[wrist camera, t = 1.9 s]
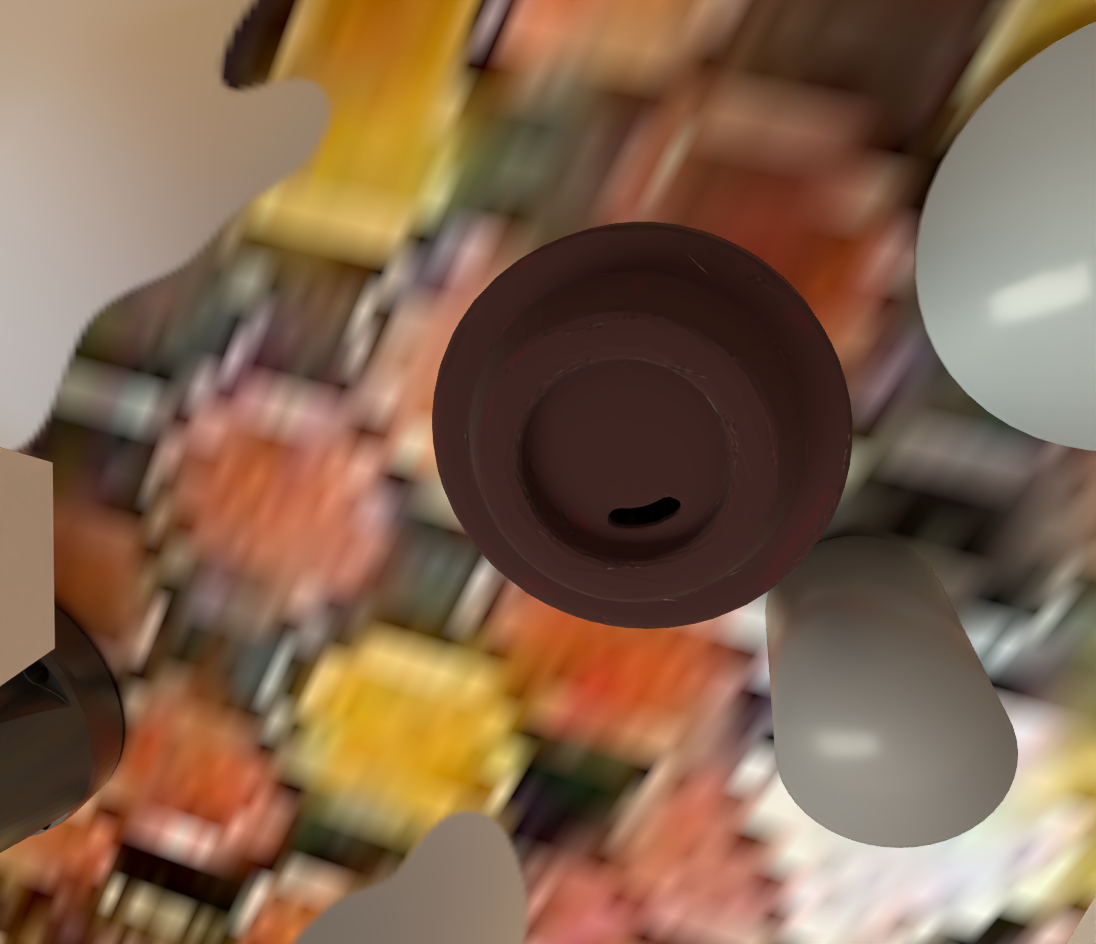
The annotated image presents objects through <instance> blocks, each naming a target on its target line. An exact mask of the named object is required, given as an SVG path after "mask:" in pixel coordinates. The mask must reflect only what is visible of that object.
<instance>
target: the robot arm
mask: <svg viewBox="0 0 1096 944" xmlns="http://www.w3.org/2000/svg"><path fill="white" fill-rule="evenodd" d="M122 741H123V723H122V714H121V709H120V704H119V700H118V697H117V694H116V690H115V688H114V685H113V683H112V680H111V678H110V676H109V674H108V671H107V669H106V668H105V666H104V664H103V662H102V660H101V659H100V657H99V655H98V654H97V652H96V651H95V649H94V648H93V646H92V645H91V644H90V642H89V641H88V640H87V638H86V637H85V636H84V634H83V633H82V632H81V631H80V630H79V629H78V628H77V626H76V625H75V624H74V623H73V622H72V621H71V620H70V619H69V618H68V617H67V616H66V615H65V614H64V613H63V612H62V611H60V610H59V609H58V608H57V607H56V606H55V605H54V534H53V463H52V462H49V461H45V460H42V459H38V458H35V457H32V456H28V455H25V454H21V453H18V452H15V451H11V450H8V449H4V448H1V447H0V852H2V851H4V850H6V849H8V848H10V847H11V846H13V845H15V844H17V843H19V842H20V841H22V840H24V839H26V838H27V837H29V836H33V835H37V834H40V833H42V832H44V831H47V830H49V829H51V828H53V827H55V826H57V825H59V824H61V823H62V822H64V821H65V820H66V819H68V818H69V817H71V816H72V815H73V814H74V813H76V812H77V811H78V810H79V809H80V808H81V807H82V806H83V805H84V804H85V803H86V802H87V801H88V800H89V799H90V798H91V797H92V796H93V795H94V794H95V793H97V792H98V791H99V790H100V789H101V788H102V787H103V786H104V785H105V783H106V782H107V781H108V780H109V778H110V777H111V775H112V773H113V772H114V770H115V768H116V766H117V763H118V760H119V757H120V753H121V748H122ZM1067 944H1096V896H1095V898H1094V900H1093V901H1092V903H1091V905H1090V906H1089V908H1088V910H1087V911H1086V913H1085V915H1084V916H1083V918H1082V920H1081V921H1080V923H1079V925H1078V926H1077V928H1076V930H1075V931H1074V933H1073V935H1072V936H1071V938H1070V940H1069V941H1068V943H1067Z"/></svg>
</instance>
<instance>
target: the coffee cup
mask: <svg viewBox="0 0 1096 944" xmlns="http://www.w3.org/2000/svg"><path fill="white" fill-rule="evenodd" d="M432 431H433V444H434V450H435V456H436V462H437V468H438V472H439V475H440V478H441V482H442V485H443V488H444V490H445V493H446V495H447V497H448V500H449V502H450V504H451V506H452V509H453V511H454V513H455V515H456V517H457V518H458V520H459V522H460V523H461V525H462V527H463V528H464V530H465V532H466V533H467V535H468V536H469V537H470V539H471V540H472V542H473V543H474V544H475V546H476V547H477V548H478V549H479V550H480V551H481V553H482V554H483V555H484V556H485V557H486V558H487V559H488V561H489V562H490V563H491V564H492V565H493V566H494V567H495V568H496V569H497V570H498V571H499V572H501V573H502V574H503V575H504V576H506V577H507V578H508V579H510V580H511V581H512V582H513V583H515V584H516V585H517V586H519V587H520V588H521V589H523V590H524V591H525V592H526V593H528V594H530V595H531V596H533V597H535V598H537V599H538V600H540V601H542V602H544V603H546V604H547V605H550V606H552V607H554V608H556V609H558V610H560V611H563V612H565V613H568V614H570V615H573V616H576V617H579V618H582V619H585V620H588V621H592V622H596V623H601V624H605V625H610V626H618V627H625V628H643V629H649V628H670V627H677V626H683V625H689V624H695V623H699V622H703V621H706V620H710V619H714V618H716V617H719V616H721V615H723V614H726V613H728V612H731V611H733V610H735V609H738V608H740V607H742V606H744V605H747V604H748V603H750V602H752V601H753V600H755V599H756V598H758V597H760V596H761V595H763V594H764V593H766V592H767V591H769V590H770V589H772V588H773V587H774V586H776V585H777V584H778V583H780V582H781V581H782V580H783V579H784V578H785V577H786V576H788V575H789V574H790V573H791V572H792V571H793V570H794V569H795V568H796V567H797V566H798V565H799V564H800V563H801V562H803V560H804V559H805V558H806V556H807V555H808V554H809V553H810V551H811V550H812V549H813V547H814V546H815V545H816V543H817V542H818V540H819V539H820V537H821V536H822V534H823V533H824V531H825V529H826V528H827V526H828V525H829V523H830V521H831V519H832V517H833V515H834V512H835V510H836V508H837V506H838V503H839V501H840V498H841V495H842V492H843V490H844V487H845V483H846V479H847V475H848V470H849V466H850V458H851V450H852V413H851V404H850V398H849V393H848V389H847V385H846V380H845V377H844V374H843V371H842V368H841V365H840V362H839V359H838V357H837V355H836V352H835V350H834V348H833V345H832V343H831V341H830V340H829V338H828V336H827V334H826V332H825V330H824V329H823V327H822V325H821V324H820V322H819V321H818V319H817V318H816V316H815V315H814V313H813V312H812V310H811V309H810V307H809V306H808V304H807V303H806V301H805V300H804V299H803V298H802V296H801V295H800V294H799V293H798V292H797V291H796V290H795V289H794V288H793V287H792V286H791V284H790V283H789V282H788V281H787V280H786V279H785V278H784V277H783V276H782V275H780V274H779V273H778V272H777V271H775V270H774V269H773V268H772V267H770V266H769V265H768V264H767V263H765V262H764V261H763V260H762V259H760V258H759V257H757V256H755V255H754V254H752V253H751V252H749V251H747V250H746V249H744V248H742V247H740V246H738V245H736V244H734V243H732V242H730V241H728V240H726V239H723V238H721V237H718V236H715V235H713V234H710V233H707V232H705V231H701V230H697V229H693V228H689V227H685V226H681V225H675V224H665V223H656V222H628V223H615V224H610V225H605V226H600V227H595V228H590V229H587V230H584V231H581V232H578V233H574V234H571V235H568V236H566V237H563V238H561V239H558V240H556V241H553V242H551V243H549V244H546V245H544V246H542V247H540V248H539V249H537V250H535V251H533V252H532V253H530V254H528V255H526V256H525V257H523V258H521V259H519V260H518V261H517V262H515V263H514V264H513V265H512V266H510V267H509V268H508V269H506V270H505V271H504V272H503V273H501V274H500V275H499V276H497V277H496V278H495V279H494V280H493V281H492V283H491V284H490V285H489V286H488V287H487V288H486V289H485V290H484V291H483V292H482V293H481V294H480V295H479V296H478V297H477V298H476V299H475V300H474V302H473V303H472V305H471V306H470V308H469V309H468V310H467V312H466V313H465V315H464V316H463V318H462V319H461V321H460V322H459V324H458V326H457V328H456V329H455V331H454V333H453V335H452V337H451V339H450V342H449V344H448V347H447V349H446V352H445V354H444V357H443V359H442V362H441V365H440V368H439V372H438V377H437V382H436V387H435V392H434V401H433V411H432Z"/></svg>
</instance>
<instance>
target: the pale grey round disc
mask: <svg viewBox="0 0 1096 944" xmlns="http://www.w3.org/2000/svg"><path fill="white" fill-rule="evenodd" d="M914 281H915V289H916V297H917V304H918V307H919V311H920V315H921V318H922V322H923V326H924V329H925V331H926V333H927V335H928V338H929V340H930V342H931V344H932V347H933V349H934V351H935V353H936V354H937V356H938V357H939V359H940V360H941V362H942V364H943V365H944V367H945V368H946V370H947V371H948V373H949V374H950V375H951V376H952V377H953V378H954V380H955V381H956V382H957V383H958V384H959V385H960V387H961V388H962V389H963V390H964V391H965V392H966V393H967V394H968V395H969V396H971V397H972V398H973V399H974V400H975V401H976V402H977V403H979V404H980V405H981V406H982V407H983V408H984V409H986V410H987V411H988V412H989V413H991V414H993V415H994V416H996V417H997V418H999V419H1000V420H1002V421H1004V422H1005V423H1007V424H1008V425H1010V426H1012V427H1014V428H1016V429H1018V430H1020V431H1023V432H1025V433H1027V434H1029V435H1031V436H1033V437H1036V438H1039V439H1043V440H1046V441H1049V442H1052V443H1055V444H1058V445H1062V446H1068V447H1073V448H1078V449H1084V450H1091V451H1096V22H1093V23H1091V24H1088V25H1086V26H1084V27H1082V28H1080V29H1078V30H1076V31H1074V32H1072V33H1071V34H1069V35H1067V36H1065V37H1063V38H1061V39H1060V40H1058V41H1056V42H1054V43H1052V44H1051V45H1049V46H1048V47H1046V48H1045V49H1043V50H1042V51H1041V52H1039V53H1038V54H1036V55H1035V56H1033V57H1032V58H1030V59H1029V60H1028V61H1026V62H1025V63H1023V64H1022V65H1021V66H1020V67H1019V68H1017V69H1016V70H1015V71H1014V72H1013V73H1012V74H1010V75H1009V76H1008V77H1007V78H1006V79H1005V80H1004V81H1002V82H1001V83H1000V84H999V85H998V86H997V87H996V88H995V89H994V90H993V91H992V92H991V93H990V94H989V95H988V96H987V98H986V99H985V100H984V101H983V102H982V103H981V104H980V105H979V106H978V107H977V108H976V109H975V110H974V112H973V113H972V114H971V116H970V117H969V118H968V120H967V121H966V122H965V124H964V125H963V127H962V128H961V129H960V131H959V132H958V133H957V135H956V136H955V137H954V139H953V141H952V143H951V144H950V146H949V148H948V150H947V151H946V153H945V155H944V157H943V158H942V160H941V162H940V164H939V165H938V168H937V170H936V172H935V175H934V177H933V179H932V182H931V184H930V186H929V189H928V191H927V194H926V197H925V201H924V204H923V208H922V211H921V215H920V218H919V222H918V228H917V235H916V242H915V248H914Z"/></svg>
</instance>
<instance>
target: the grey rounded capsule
mask: <svg viewBox="0 0 1096 944" xmlns="http://www.w3.org/2000/svg"><path fill="white" fill-rule="evenodd" d="M765 615H766V631H767V645H768V659H769V673H770V687H771V701H772V715H773V729H774V743H775V757H776V763H777V768H778V771H779V774H780V777H781V780H782V782H783V784H784V786H785V788H786V790H787V791H788V793H789V794H790V796H791V797H792V799H793V800H794V801H795V803H796V804H797V805H798V806H799V807H800V808H801V809H802V810H803V811H804V812H805V813H806V814H807V815H808V816H810V817H811V818H812V819H813V820H814V821H816V822H817V823H819V824H820V825H822V826H823V827H825V828H827V829H828V830H830V831H832V832H834V833H836V834H838V835H840V836H843V837H846V838H848V839H851V840H854V841H857V842H861V843H865V844H869V845H875V846H882V847H896V848H903V847H918V846H924V845H931V844H934V843H938V842H942V841H945V840H948V839H951V838H953V837H956V836H959V835H960V834H962V833H964V832H966V831H968V830H970V829H972V828H973V827H975V826H976V825H978V824H979V823H981V822H982V821H983V820H985V819H986V818H987V817H988V816H989V815H990V814H991V813H992V812H993V811H994V810H995V809H996V808H997V807H998V806H999V804H1000V803H1001V802H1002V801H1003V799H1004V797H1005V796H1006V794H1007V793H1008V791H1009V789H1010V787H1011V784H1012V782H1013V779H1014V776H1015V772H1016V768H1017V759H1018V749H1017V740H1016V736H1015V733H1014V729H1013V726H1012V724H1011V722H1010V720H1009V717H1008V715H1007V713H1006V711H1005V709H1004V707H1003V705H1002V703H1001V701H1000V699H999V697H998V695H997V693H996V691H995V690H994V688H993V686H992V684H991V682H990V680H989V678H988V676H987V674H986V672H985V670H984V668H983V666H982V664H981V662H980V660H979V658H978V656H977V654H976V652H975V650H974V648H973V646H972V644H971V642H970V640H969V638H968V636H967V634H966V632H965V630H964V628H963V626H962V624H961V622H960V620H959V618H958V617H957V615H956V613H955V611H954V609H953V607H952V605H951V603H950V601H949V599H948V597H947V595H946V593H945V591H944V589H943V587H942V585H941V583H940V581H939V579H938V578H937V576H936V575H935V573H934V572H933V570H932V569H931V568H930V567H929V566H928V564H927V563H926V562H925V561H924V560H922V559H921V558H920V557H919V556H918V555H916V554H915V553H913V552H912V551H910V550H909V549H907V548H905V547H903V546H901V545H899V544H897V543H894V542H891V541H888V540H885V539H881V538H877V537H871V536H843V537H836V538H832V539H828V540H824V541H822V542H819V543H817V544H816V545H815V546H814V547H813V549H812V550H811V551H810V553H809V554H808V555H807V556H806V558H805V559H804V560H803V562H801V563H800V564H799V565H798V566H797V567H796V568H795V569H794V570H793V571H792V572H791V573H790V574H789V575H788V576H786V577H785V578H784V579H783V580H782V581H781V582H780V583H778V584H777V585H776V586H774V587H773V588H772V589H770V590H769V593H768V597H767V600H766V609H765Z"/></svg>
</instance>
